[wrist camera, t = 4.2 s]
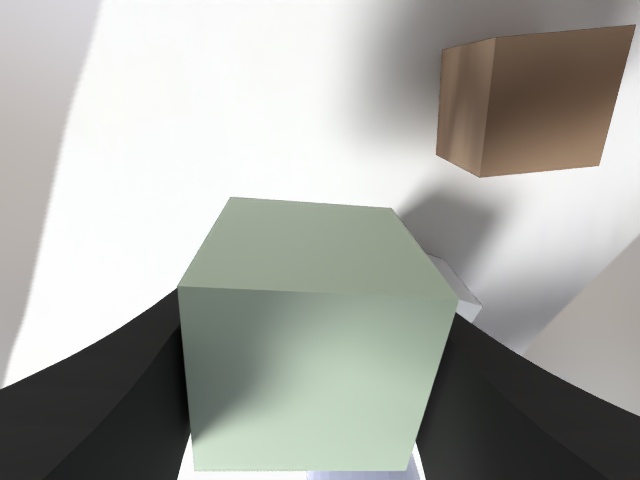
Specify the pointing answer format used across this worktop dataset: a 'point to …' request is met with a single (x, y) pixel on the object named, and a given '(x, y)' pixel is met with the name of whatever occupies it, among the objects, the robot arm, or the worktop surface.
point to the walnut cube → (530, 100)
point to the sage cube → (310, 338)
